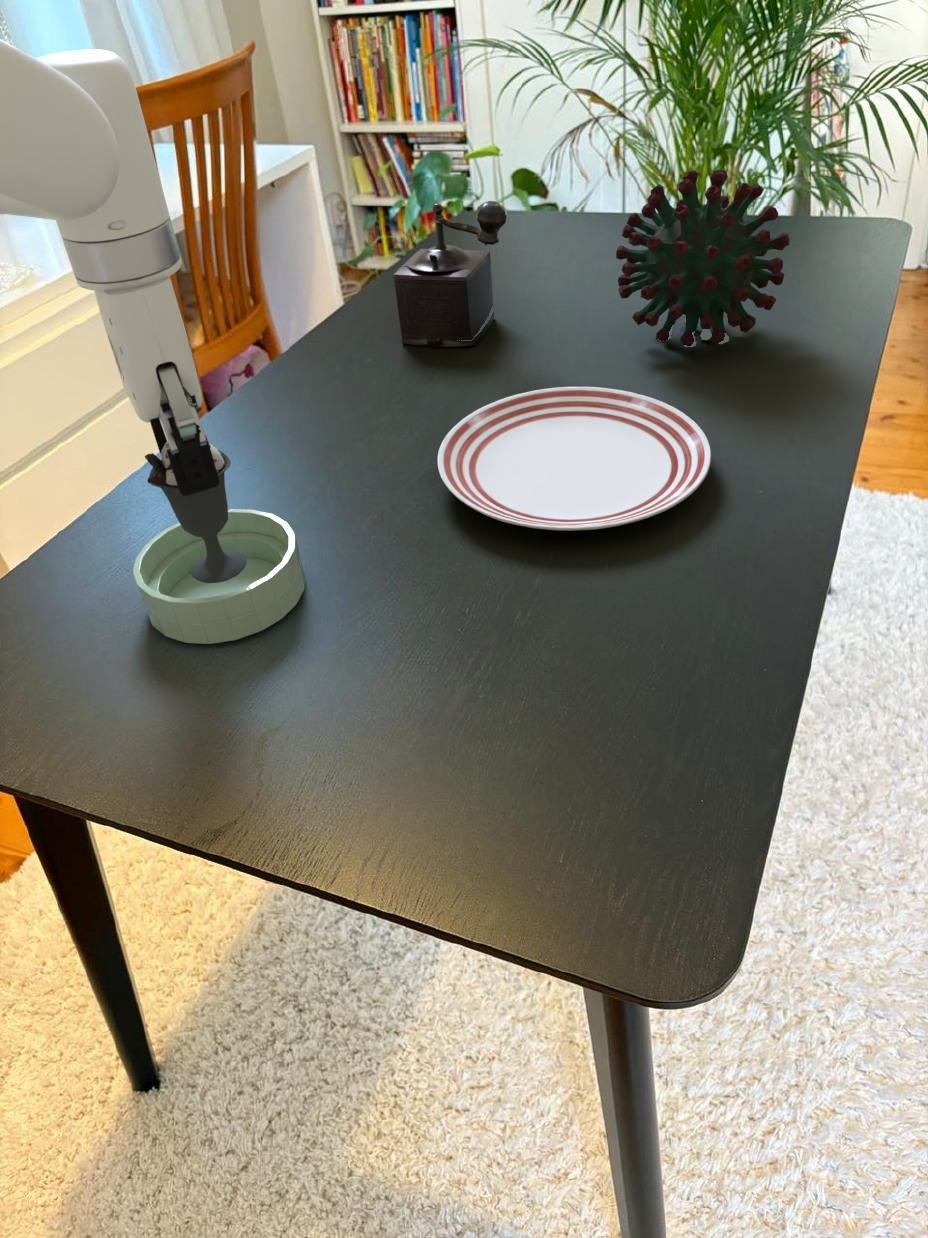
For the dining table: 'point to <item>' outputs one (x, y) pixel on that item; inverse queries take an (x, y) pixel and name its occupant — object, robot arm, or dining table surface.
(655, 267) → the virus model
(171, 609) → the bowl
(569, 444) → the dinner plate
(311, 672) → the dining table surface
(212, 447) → the sundae
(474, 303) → the coffee grinder
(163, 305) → the robot arm
